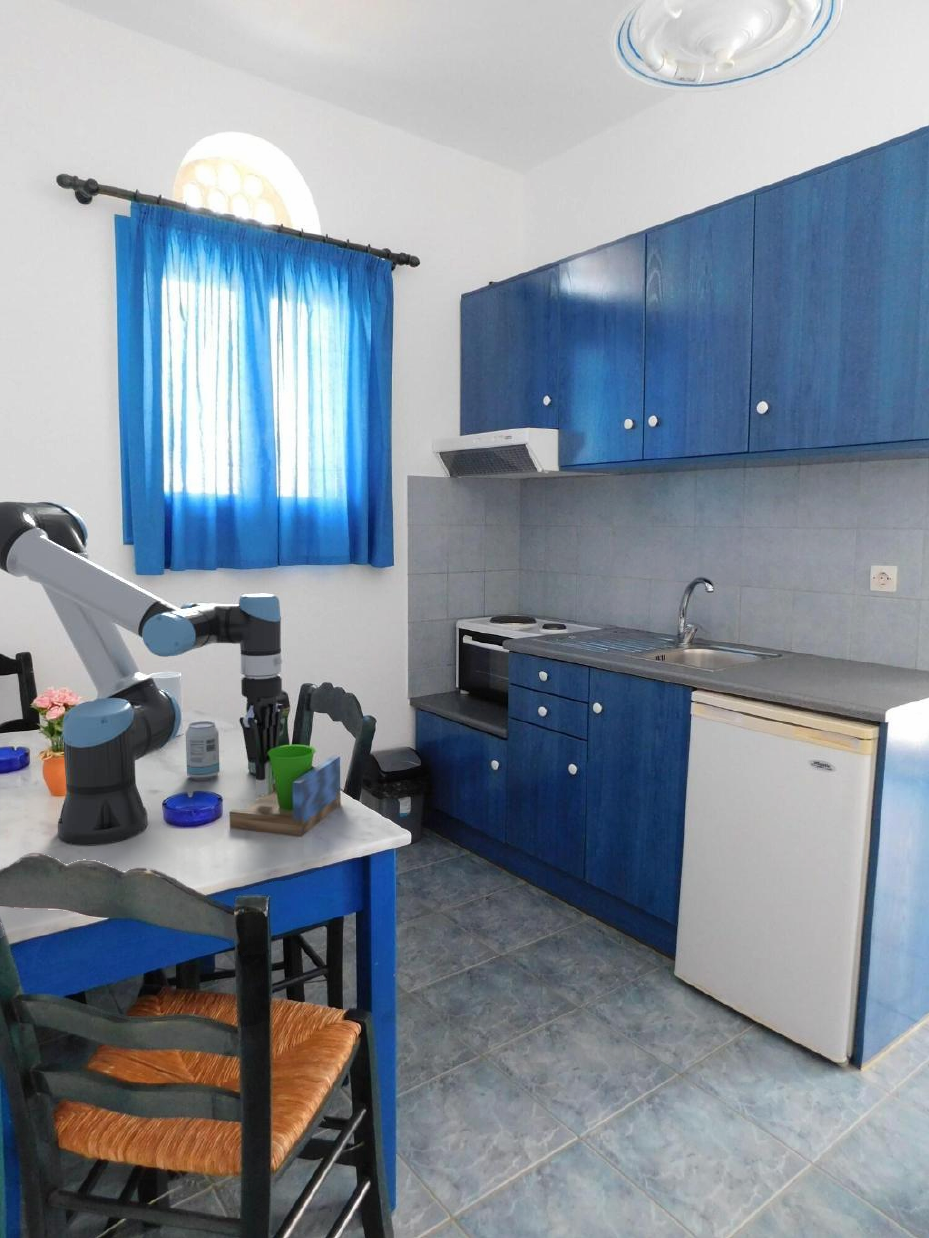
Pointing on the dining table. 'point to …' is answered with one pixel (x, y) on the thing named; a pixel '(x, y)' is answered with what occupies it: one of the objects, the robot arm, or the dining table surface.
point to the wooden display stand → (295, 804)
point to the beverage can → (202, 750)
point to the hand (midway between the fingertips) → (264, 793)
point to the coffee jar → (283, 735)
